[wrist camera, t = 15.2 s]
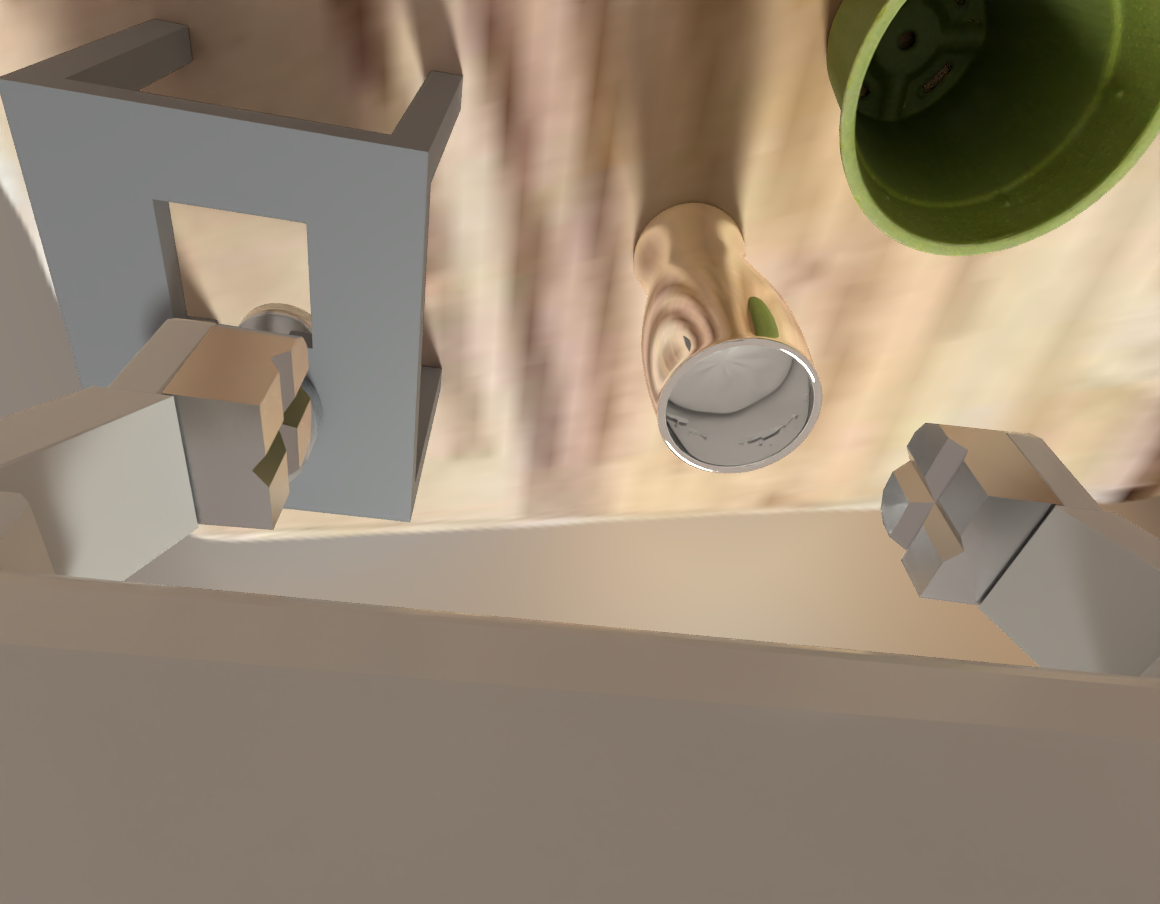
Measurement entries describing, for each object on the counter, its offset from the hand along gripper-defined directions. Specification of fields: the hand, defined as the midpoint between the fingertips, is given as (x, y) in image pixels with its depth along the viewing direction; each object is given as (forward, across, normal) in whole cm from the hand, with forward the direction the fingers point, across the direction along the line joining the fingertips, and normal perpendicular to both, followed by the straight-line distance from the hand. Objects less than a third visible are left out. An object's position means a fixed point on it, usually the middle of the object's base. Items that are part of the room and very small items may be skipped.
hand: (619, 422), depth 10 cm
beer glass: (+31, -8, +10) cm, 34 cm away
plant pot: (+31, -15, -2) cm, 35 cm away
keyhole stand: (+31, +12, +12) cm, 35 cm away
